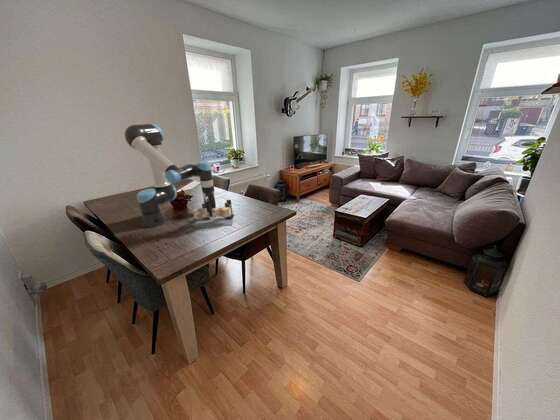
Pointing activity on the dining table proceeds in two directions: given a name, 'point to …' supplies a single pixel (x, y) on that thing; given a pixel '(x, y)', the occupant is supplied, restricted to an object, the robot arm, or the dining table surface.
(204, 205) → the standard left
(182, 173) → the robot arm
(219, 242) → the dining table surface
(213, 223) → the mat
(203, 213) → the rail
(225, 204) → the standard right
